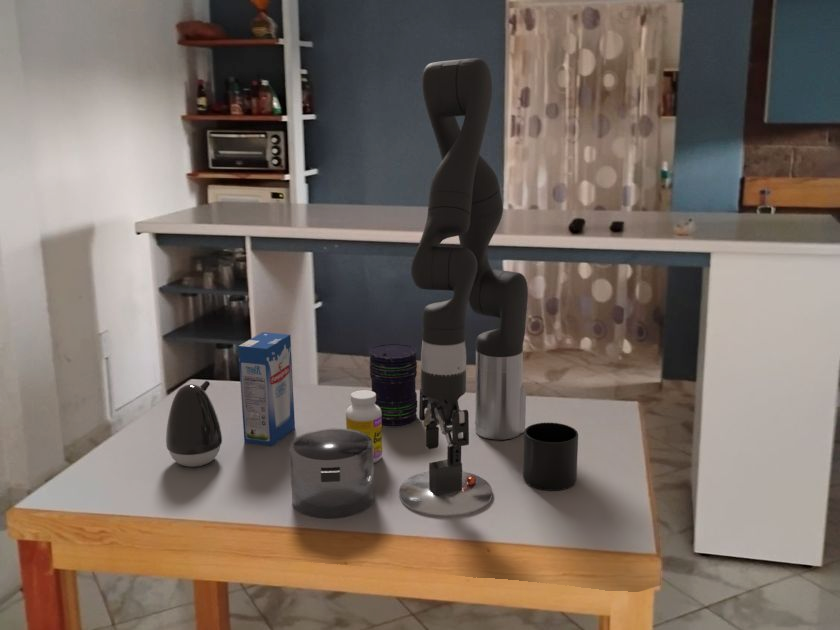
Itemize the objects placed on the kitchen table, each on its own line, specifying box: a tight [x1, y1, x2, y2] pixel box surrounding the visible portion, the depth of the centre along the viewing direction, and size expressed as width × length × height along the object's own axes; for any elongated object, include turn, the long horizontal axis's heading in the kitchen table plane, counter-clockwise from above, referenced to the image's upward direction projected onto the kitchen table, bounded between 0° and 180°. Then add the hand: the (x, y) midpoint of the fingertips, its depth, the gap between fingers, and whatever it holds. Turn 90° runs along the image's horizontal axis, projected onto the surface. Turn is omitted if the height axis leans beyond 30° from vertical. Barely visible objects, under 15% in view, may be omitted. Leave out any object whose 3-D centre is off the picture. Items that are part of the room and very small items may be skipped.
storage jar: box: [369, 343, 418, 428], centre depth 185 cm, size 10×10×15 cm
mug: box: [522, 422, 579, 491], centre depth 158 cm, size 9×12×9 cm
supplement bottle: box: [345, 389, 383, 464], centre depth 166 cm, size 7×7×13 cm
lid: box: [398, 459, 493, 518], centre depth 152 cm, size 16×16×6 cm
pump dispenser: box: [165, 380, 223, 468], centre depth 165 cm, size 10×10×15 cm
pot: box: [289, 427, 375, 519], centre depth 151 cm, size 18×14×10 cm
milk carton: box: [237, 331, 296, 447], centre depth 176 cm, size 10×6×20 cm, turn 161°
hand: (442, 456), depth 151 cm, fingers open, 8 cm apart
